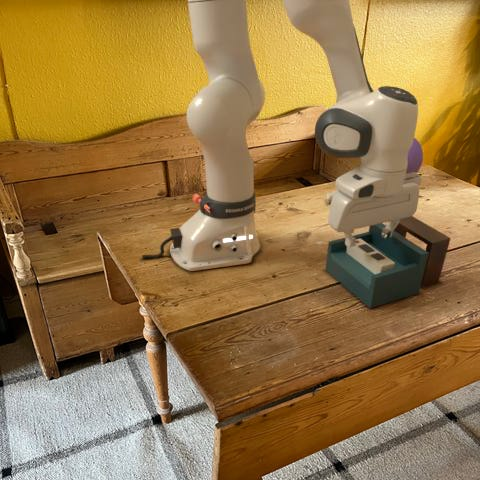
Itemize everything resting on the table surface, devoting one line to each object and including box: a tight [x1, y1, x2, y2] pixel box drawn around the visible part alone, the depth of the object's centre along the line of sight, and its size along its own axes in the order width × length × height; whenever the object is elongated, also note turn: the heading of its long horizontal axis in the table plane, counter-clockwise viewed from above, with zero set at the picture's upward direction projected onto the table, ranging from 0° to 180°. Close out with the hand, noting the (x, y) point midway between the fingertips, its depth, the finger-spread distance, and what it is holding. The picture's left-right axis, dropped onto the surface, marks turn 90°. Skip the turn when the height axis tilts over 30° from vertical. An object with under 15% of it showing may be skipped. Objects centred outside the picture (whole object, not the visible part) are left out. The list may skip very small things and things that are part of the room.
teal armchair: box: [325, 223, 429, 309], centre depth 109 cm, size 13×17×10 cm
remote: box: [346, 239, 395, 274], centre depth 108 cm, size 4×12×3 cm, turn 25°
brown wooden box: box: [394, 215, 452, 288], centre depth 113 cm, size 5×14×11 cm, turn 25°
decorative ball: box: [406, 137, 424, 174], centre depth 154 cm, size 15×15×15 cm
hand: (368, 241), depth 106 cm, fingers open, 8 cm apart
